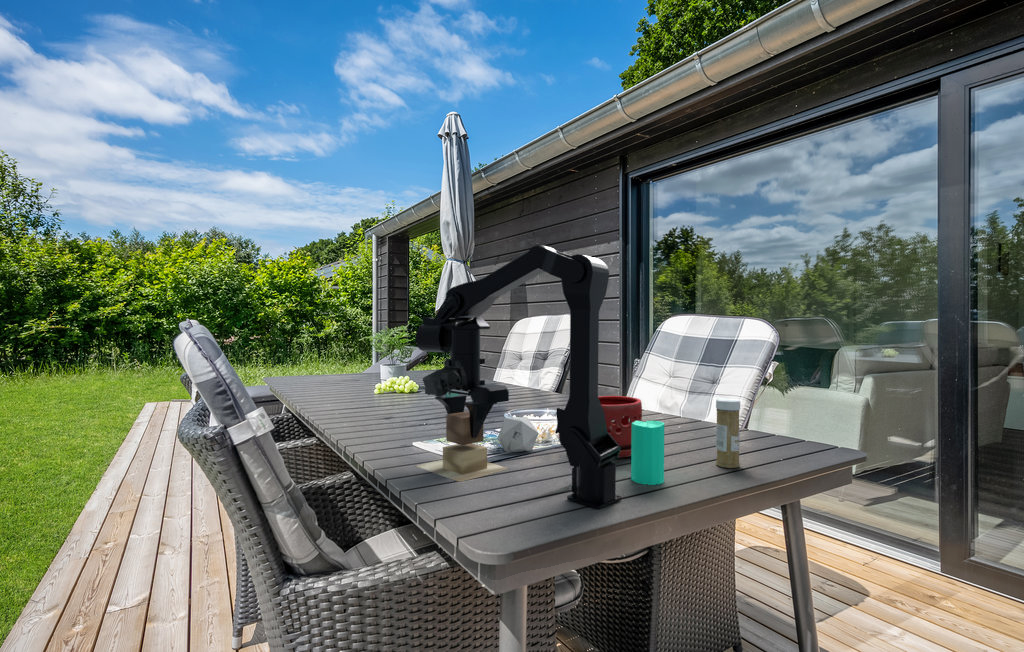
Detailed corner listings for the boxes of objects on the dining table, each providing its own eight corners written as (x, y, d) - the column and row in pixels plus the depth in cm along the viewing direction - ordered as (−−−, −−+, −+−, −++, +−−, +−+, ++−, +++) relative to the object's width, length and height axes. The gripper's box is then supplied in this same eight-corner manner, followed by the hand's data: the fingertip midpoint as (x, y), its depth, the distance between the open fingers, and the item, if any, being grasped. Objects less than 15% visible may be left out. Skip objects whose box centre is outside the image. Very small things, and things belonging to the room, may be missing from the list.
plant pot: (607, 443, 126) (608, 393, 126) (654, 454, 116) (654, 399, 116) (568, 452, 118) (568, 398, 118) (614, 465, 108) (614, 405, 107)
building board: (509, 473, 101) (509, 468, 101) (459, 487, 93) (459, 481, 93) (463, 459, 111) (463, 454, 111) (414, 470, 103) (414, 465, 103)
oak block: (487, 468, 101) (487, 447, 101) (462, 474, 97) (462, 452, 97) (467, 462, 105) (467, 442, 105) (442, 468, 101) (442, 447, 101)
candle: (668, 478, 99) (668, 413, 99) (659, 486, 94) (660, 419, 93) (636, 473, 102) (636, 410, 102) (626, 481, 97) (626, 415, 96)
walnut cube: (483, 441, 101) (483, 414, 101) (462, 445, 97) (462, 418, 97) (466, 436, 105) (466, 411, 104) (446, 440, 101) (446, 414, 101)
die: (489, 455, 117) (495, 426, 111) (505, 430, 124) (512, 401, 118) (523, 471, 115) (531, 442, 109) (537, 444, 122) (546, 416, 116)
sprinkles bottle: (742, 469, 105) (743, 401, 105) (719, 468, 105) (719, 400, 105) (735, 463, 109) (736, 397, 109) (712, 462, 110) (713, 397, 110)
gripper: (401, 352, 102) (401, 434, 102) (462, 358, 89) (462, 451, 89) (448, 350, 110) (448, 426, 110) (511, 355, 96) (510, 441, 96)
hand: (465, 435), depth 101 cm, fingers closed on walnut cube, 5 cm apart
